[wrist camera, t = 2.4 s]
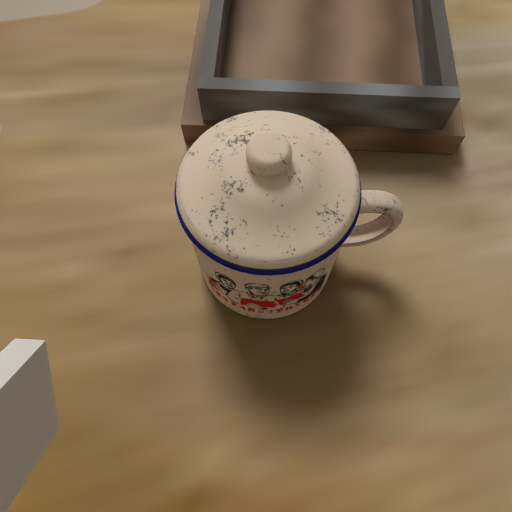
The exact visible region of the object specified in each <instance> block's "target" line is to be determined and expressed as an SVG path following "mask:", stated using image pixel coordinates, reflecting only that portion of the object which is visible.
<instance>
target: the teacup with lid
mask: <svg viewBox="0 0 512 512" xmlns="http://www.w3.org/2000/svg"><path fill="white" fill-rule="evenodd" d="M175 206H176V210H177V215H178V217H179V220H180V223H181V225H182V227H183V229H184V231H185V232H186V234H187V235H188V237H189V238H190V240H191V241H192V244H193V247H194V250H195V253H196V256H197V259H198V262H199V265H200V268H201V271H202V274H203V277H204V279H205V282H206V284H207V286H208V287H209V289H210V290H211V292H212V293H213V294H214V296H215V297H216V298H217V299H218V300H219V301H220V302H222V303H223V304H224V305H225V306H227V307H228V308H230V309H231V310H233V311H235V312H237V313H240V314H242V315H245V316H248V317H253V318H260V319H272V318H279V317H284V316H288V315H290V314H293V313H295V312H297V311H299V310H301V309H303V308H304V307H306V306H307V305H308V304H310V303H311V302H312V301H313V300H314V299H315V298H316V297H317V296H318V295H319V294H320V292H321V291H322V289H323V288H324V286H325V284H326V282H327V280H328V277H329V275H330V272H331V270H332V267H333V265H334V262H335V260H336V257H337V255H338V252H339V250H340V247H351V246H359V245H364V244H368V243H371V242H374V241H377V240H379V239H381V238H383V237H385V236H387V235H388V234H390V233H391V232H392V231H394V230H395V229H396V228H397V227H398V226H399V224H400V223H401V221H402V219H403V208H402V204H401V201H400V200H399V199H398V198H397V197H396V196H395V195H393V194H391V193H388V192H385V191H379V190H361V184H360V179H359V175H358V171H357V168H356V165H355V163H354V161H353V159H352V157H351V155H350V153H349V152H348V150H347V149H346V148H345V146H344V145H343V144H342V143H341V141H340V140H339V139H338V138H337V137H336V136H335V135H334V134H333V133H331V132H330V131H329V130H327V129H326V128H325V127H323V126H322V125H320V124H318V123H316V122H314V121H313V120H310V119H308V118H306V117H303V116H300V115H297V114H293V113H288V112H282V111H253V112H247V113H243V114H239V115H236V116H233V117H230V118H228V119H225V120H223V121H221V122H219V123H217V124H216V125H214V126H213V127H211V128H210V129H208V130H207V131H206V132H204V133H203V134H202V135H201V136H200V137H199V138H198V139H197V140H196V141H195V142H194V143H193V145H192V146H191V147H190V149H189V150H188V152H187V153H186V155H185V157H184V159H183V161H182V163H181V165H180V168H179V171H178V175H177V179H176V183H175ZM359 213H381V214H382V215H380V216H379V217H378V218H376V219H374V220H372V221H370V222H368V223H365V224H362V225H358V226H355V224H356V221H357V218H358V215H359Z"/></svg>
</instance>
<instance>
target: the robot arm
mask: <svg viewBox="0 0 512 512" xmlns="http://www.w3.org/2000/svg"><path fill="white" fill-rule="evenodd" d="M58 430H59V422H58V415H57V409H56V403H55V397H54V391H53V384H52V378H51V372H50V366H49V359H48V353H47V347H46V341H45V340H31V339H14V340H13V341H12V342H11V343H10V344H9V345H8V346H7V347H6V348H5V349H4V350H3V351H1V352H0V512H6V511H7V509H8V508H9V506H10V505H11V503H12V501H13V500H14V498H15V497H16V495H17V494H18V492H19V491H20V489H21V487H22V486H23V484H24V483H25V481H26V480H27V478H28V477H29V475H30V473H31V472H32V470H33V469H34V467H35V466H36V464H37V463H38V461H39V460H40V458H41V456H42V455H43V453H44V452H45V450H46V449H47V447H48V446H49V444H50V442H51V441H52V439H53V438H54V436H55V435H56V433H57V432H58Z"/></svg>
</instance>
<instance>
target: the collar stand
mask: <svg viewBox="0 0 512 512" xmlns="http://www.w3.org/2000/svg"><path fill="white" fill-rule="evenodd" d="M459 100H460V93H459V87H458V81H457V75H456V69H455V63H454V57H453V51H452V45H451V39H450V34H449V28H448V22H447V16H446V10H445V4H444V0H201V5H200V11H199V17H198V23H197V29H196V35H195V41H194V48H193V54H192V60H191V66H190V72H189V78H188V84H187V90H186V96H185V102H184V108H183V114H182V121H181V127H182V131H183V135H184V139H185V143H194V142H195V141H196V140H197V139H198V138H199V137H200V136H201V135H202V134H203V133H204V132H206V131H207V130H208V129H210V128H211V127H213V126H214V125H216V124H217V123H219V122H221V121H223V120H225V119H228V118H230V117H233V116H236V115H239V114H243V113H247V112H253V111H282V112H288V113H293V114H297V115H300V116H303V117H306V118H308V119H310V120H313V121H314V122H316V123H318V124H320V125H322V126H323V127H325V128H326V129H327V130H329V131H330V132H331V133H333V134H334V135H335V136H336V137H337V138H338V139H339V140H340V141H341V143H342V144H343V145H344V146H345V148H346V149H347V150H369V151H392V152H415V153H438V154H454V153H455V151H456V150H457V148H458V146H459V145H460V143H461V142H462V140H463V139H464V137H465V133H464V127H463V121H462V115H461V109H460V103H459Z"/></svg>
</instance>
